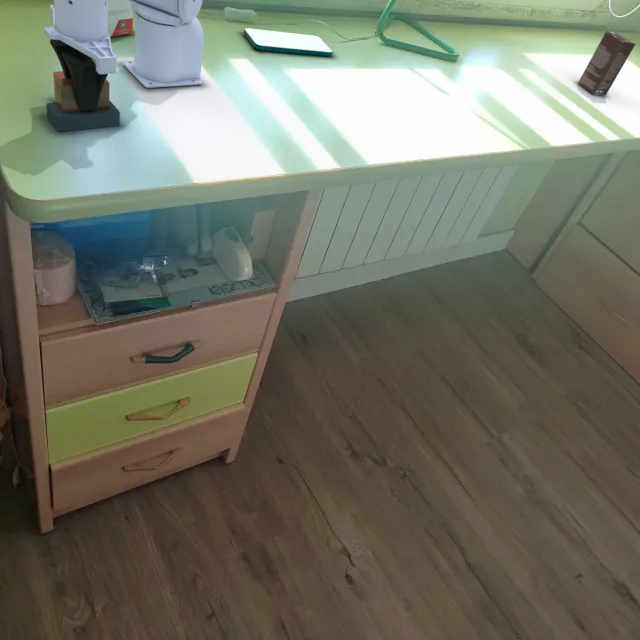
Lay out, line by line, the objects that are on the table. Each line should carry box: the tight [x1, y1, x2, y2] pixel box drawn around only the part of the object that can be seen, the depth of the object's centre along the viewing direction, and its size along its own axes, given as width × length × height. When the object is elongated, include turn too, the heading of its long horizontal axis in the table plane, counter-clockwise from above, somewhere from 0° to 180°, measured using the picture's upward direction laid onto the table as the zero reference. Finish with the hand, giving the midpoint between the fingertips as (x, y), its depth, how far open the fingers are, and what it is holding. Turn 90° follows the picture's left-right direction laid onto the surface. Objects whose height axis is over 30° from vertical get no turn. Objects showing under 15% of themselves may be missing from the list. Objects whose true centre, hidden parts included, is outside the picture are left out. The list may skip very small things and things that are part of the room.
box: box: [577, 30, 637, 96], centre depth 137 cm, size 6×4×12 cm
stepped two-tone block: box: [46, 78, 121, 133], centre depth 77 cm, size 8×4×6 cm, turn 127°
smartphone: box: [243, 27, 334, 57], centre depth 115 cm, size 8×1×16 cm
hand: (83, 104), depth 77 cm, fingers closed on stepped two-tone block, 2 cm apart
